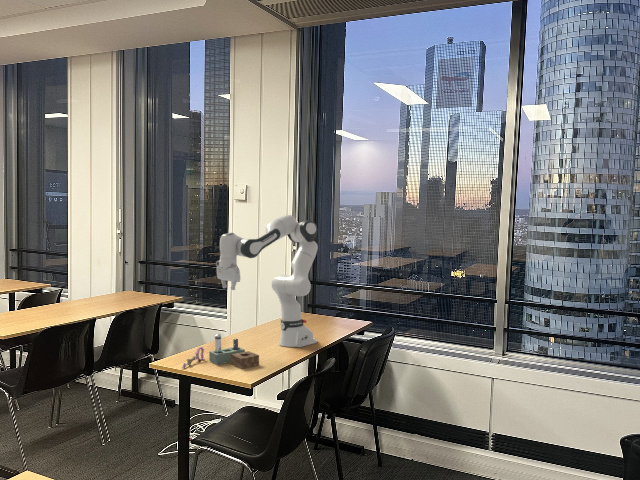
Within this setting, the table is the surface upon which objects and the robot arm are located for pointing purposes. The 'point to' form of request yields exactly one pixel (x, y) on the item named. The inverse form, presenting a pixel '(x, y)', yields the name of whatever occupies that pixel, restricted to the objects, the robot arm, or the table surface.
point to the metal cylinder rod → (217, 343)
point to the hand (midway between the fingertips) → (228, 288)
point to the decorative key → (195, 357)
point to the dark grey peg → (235, 344)
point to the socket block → (245, 359)
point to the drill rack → (223, 355)
